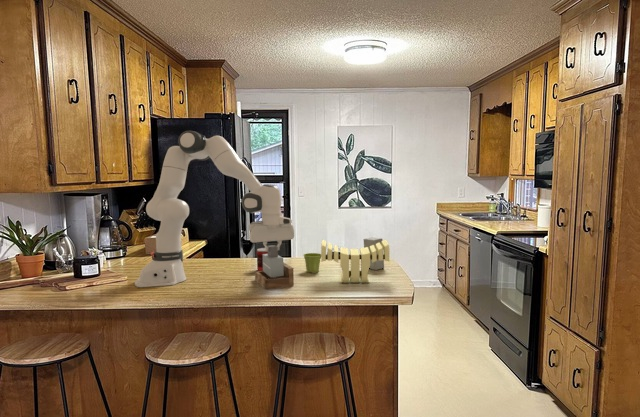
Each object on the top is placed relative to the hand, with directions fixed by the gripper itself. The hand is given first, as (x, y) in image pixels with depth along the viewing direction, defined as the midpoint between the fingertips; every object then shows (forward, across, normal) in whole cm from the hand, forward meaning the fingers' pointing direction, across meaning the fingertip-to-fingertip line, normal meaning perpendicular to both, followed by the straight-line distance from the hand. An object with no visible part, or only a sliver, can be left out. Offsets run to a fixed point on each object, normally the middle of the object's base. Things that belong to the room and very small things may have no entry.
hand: (272, 250), depth 184 cm
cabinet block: (+10, 0, 0) cm, 11 cm away
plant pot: (+15, +24, +11) cm, 31 cm away
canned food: (+15, +4, +26) cm, 30 cm away
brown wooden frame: (+15, 0, 0) cm, 15 cm away
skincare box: (+15, +55, +3) cm, 58 cm away
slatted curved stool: (+15, +35, -13) cm, 40 cm away
